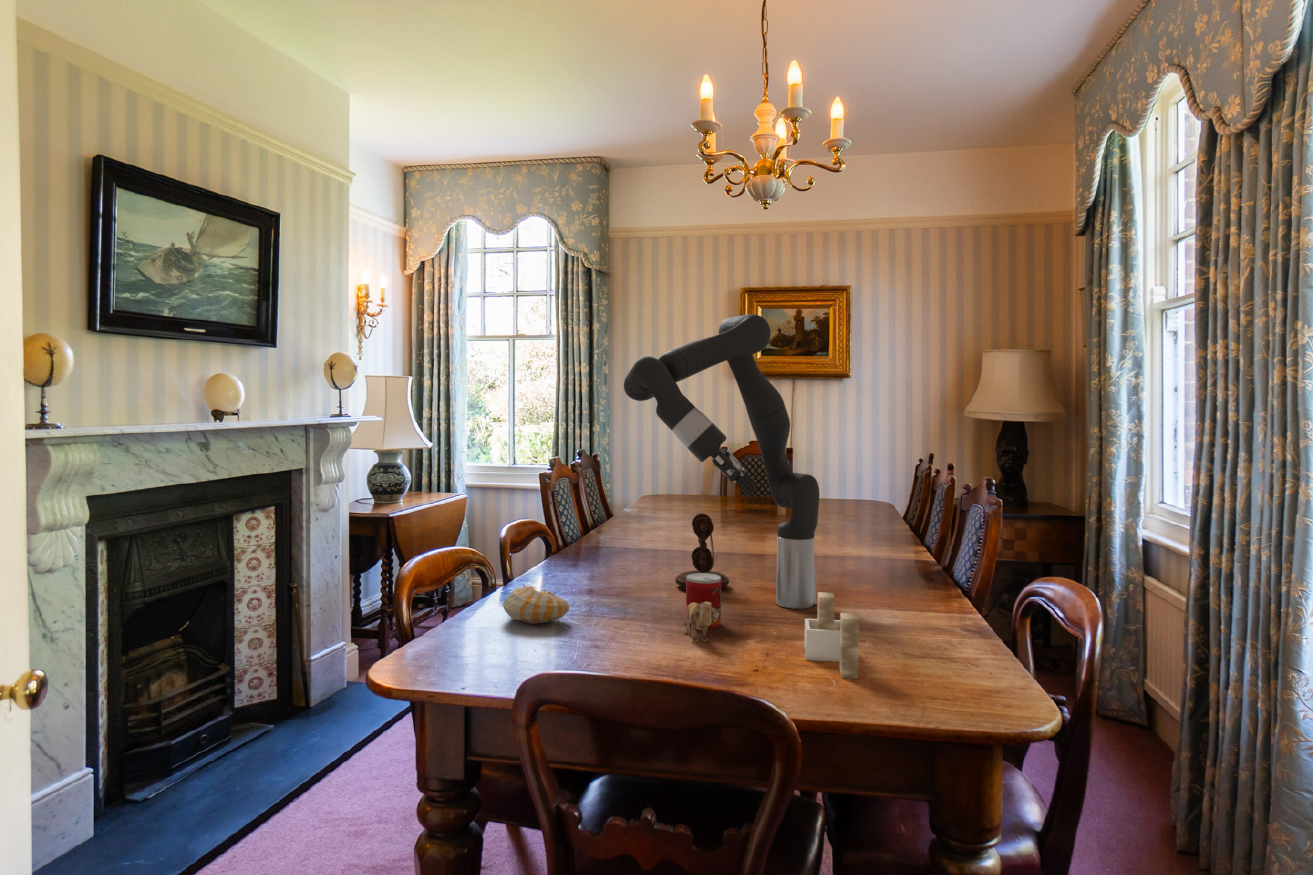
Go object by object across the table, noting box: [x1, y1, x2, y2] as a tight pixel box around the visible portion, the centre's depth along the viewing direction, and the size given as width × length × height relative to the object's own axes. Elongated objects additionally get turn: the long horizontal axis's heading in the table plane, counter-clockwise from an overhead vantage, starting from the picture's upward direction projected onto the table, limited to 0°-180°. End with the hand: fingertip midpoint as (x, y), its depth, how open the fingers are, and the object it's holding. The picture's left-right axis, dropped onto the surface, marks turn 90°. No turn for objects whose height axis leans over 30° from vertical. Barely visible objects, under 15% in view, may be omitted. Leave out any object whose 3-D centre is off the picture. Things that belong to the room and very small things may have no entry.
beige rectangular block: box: [838, 612, 860, 680], centre depth 138 cm, size 3×4×11 cm
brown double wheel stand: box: [674, 513, 730, 592], centre depth 203 cm, size 15×15×20 cm
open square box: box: [803, 618, 840, 663], centre depth 149 cm, size 8×8×6 cm
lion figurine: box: [683, 602, 720, 644], centre depth 160 cm, size 15×5×9 cm, turn 19°
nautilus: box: [501, 582, 570, 625], centre depth 173 cm, size 8×22×15 cm
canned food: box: [685, 573, 722, 630], centre depth 169 cm, size 8×8×11 cm
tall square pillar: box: [816, 591, 836, 630], centre depth 149 cm, size 3×4×11 cm
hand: (753, 490), depth 153 cm, fingers open, 8 cm apart
